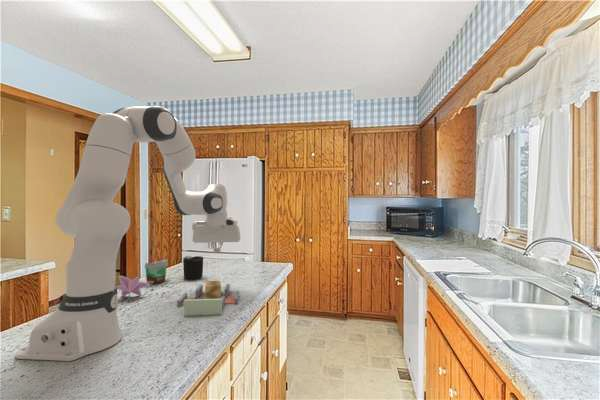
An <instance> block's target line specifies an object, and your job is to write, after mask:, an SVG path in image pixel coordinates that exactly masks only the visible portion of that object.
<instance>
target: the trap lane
mask: <svg viewBox="0 0 600 400" xmlns="http://www.w3.org/2000/svg"><path fill="white" fill-rule="evenodd" d="M230 285H231V284H230V283H226V285H225V287H224V295H221V298H212V299H205V298H200V297H201V295H202V293H203V292H204V291H203V288H204V287H203V284H199V285H198V287H197V288H196V289H195V296H190V297H188V292H183V293H182V295H180V297H178V299H177V304H176V305H177V307H182V306H183V316H210V315H222V313H223V311H224V308H225V305H229V304H230V305H233V304H234V305H238V302H239V299H240V291H238V290H237V291H236V292H235V294H234V295H229V294H230V292H231V291H230V289H231V287H230Z"/></svg>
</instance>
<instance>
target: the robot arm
mask: <svg viewBox="0 0 600 400" xmlns="http://www.w3.org/2000/svg"><path fill="white" fill-rule="evenodd" d="M135 142H136V143H152V142H155V143H156V146H157V148H158V150H159V152H160V154H161V155H162V156H161V157H162V158H163V163H162V171H163V172H162V173H163V175H164V178H165V180H166V182H167V185H168V188H169V190H170V193H171V197H172V200H173V205H174V209H175V210H176V212H177V213H178V214H179V215H181V216H193V215H197V216H199V215H200V216H205V215H206V220H205V221H203V220H202V221H199V220H197V221H195V222H193V223H192V227H191V228H192V231H193V233H192V242H193V243H195V244H197V243H198V244H200V243H201V244H202V243H203V244H204V243H207V244H208V243H209V244H210V246H211V248H212V250H213V251H212V252H213V253H214V254H216V253H220V254H221V250H222V247H223V245H224V243H239V242H240V241H241V231H240V227H239V226H238V220H237V219H236V218H232V217H229V216H228V211H227V206H228V196H227V195H228V193H227V189H226V186H224V184H220V183H208V185H207V188H205V189H204V190H202V191H190V190H188V188H186V186H185V182H184V180H183V176H182V172H185V171H186V170H187V169H189V168H190V167H191V166H192V165H193V164H194V162H195V160H196V157H197V155H196V150H195V147H194V145H193V143H192V141H191V138H190V137H189V135H188V133H187V132H186V129H185V128H184V127H183V125H182V124H181V122H180V121H179V120H178V119H177V118H176V117H175V115H174V114H173V113H172V112H171V111H170V110H169V109H168V108H166V107H164V106H161V105H160V106H159V105H150V106H148V105H147V106H146V105H145V106H144V105H143V106H141V105H135V106H130V107H121V108H119V109H117V110H114V111H113V112H112V113H103V114H101V115H98V117H97V118H96V119H95V121H94V123H93V124H92V127H91V128H90V131H89V133H88V137H87V139H86V142H85V146H84V149H83V154H82V158H81V160H80V163H79V164H80V165H79V168H78V172H77V175H76V176H75V179H74V182H73V183H72V185H71V187H70V189H69V191H68V194H67V196H66V198H65V199H64V202H63V204H62V206H60V208H59V209H58V210H57V212H56V214H55V224H56V226H57V228H58V229H59V230H60V231H62V233H64V235H66V236H68V237H70V238H74V244H73V248H72V251H71V255H70V257H69V258H70V259H69V260H68V262H67V263H66V265H65V266H66V267H65V270H66V271H65V275H66V276H65V282H66V283H65V293H63V294H61V295H60V296H59V297H57V298H55V299H54V303H53V304H58V303H59V305H58V307H57V308H56V309H55V310H54V311H53V312H51V313H50V314H48V316H46V317H45V318H44V319H43V320H41V321H40V322H38V323H37V324H36V325H35V326H34V327H33V328H32V330H31V331H30V332H31V333H30V336H29V339H28V342H27V343H25V344H24V345H23V346H22V347H20V348H19V349H18V350H17V352H16V355H15V359H20V360H36V361H37V360H39V361H41V360H43V361H56V362H57V361H59V362H62V361H63V362H72V361H75V360H77V359H80V358H82V357H85V356H87V355H90V354H94V353H97V352H100V351H103V350H106V349H108V348H111V347H112V346H114V345H116V344H117V343H118V342H119V341H121V340H122V338H123V334H122V332H121V328H120V325H119V320H118V313H117V307H118V303H119V302H118V301H119V300H118V299H119V297H118V289H117V287H116V286H117V284H116V283H117V281H116V276H117V275H116V274H117V270H116V269H117V259H118V258H117V257H118V253H119V250H120V249H119V248H120V245H121V242H122V240H123V237H124V236H125V234H126V233H127V232H128V230H129V229H130V226H131V215H130V213H129V211H128V210H127V209H126V208H125V207H124V206H123V205H122V204H121V205H120V204H119V203H117V202H114V199H115V197H116V195H117V194H118V192H119V190H120V189H121V188H122V187H123V186H124V185H125V182H126V179H127V174H128V169H129V166H130V162H131V157H132V152H133V147H134V146H133V145H135ZM215 243H219V244H218V245H219V247H216V246H215Z"/></svg>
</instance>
